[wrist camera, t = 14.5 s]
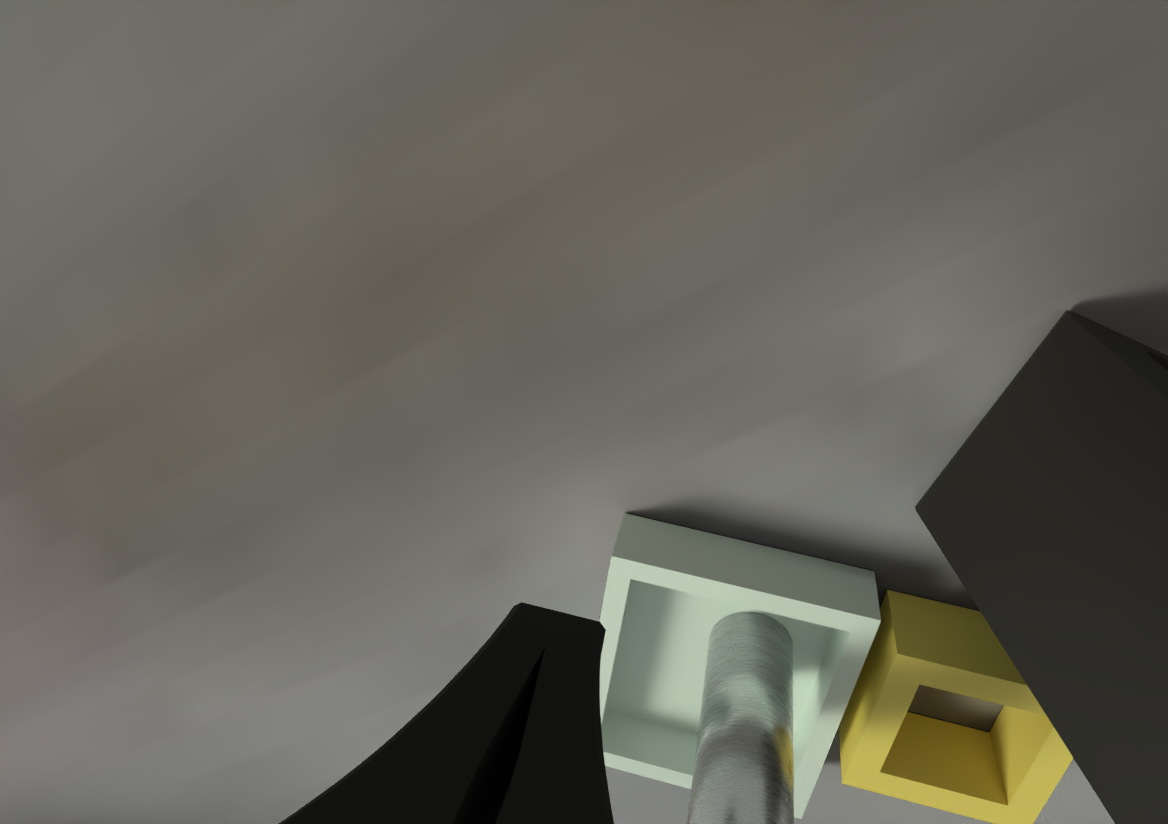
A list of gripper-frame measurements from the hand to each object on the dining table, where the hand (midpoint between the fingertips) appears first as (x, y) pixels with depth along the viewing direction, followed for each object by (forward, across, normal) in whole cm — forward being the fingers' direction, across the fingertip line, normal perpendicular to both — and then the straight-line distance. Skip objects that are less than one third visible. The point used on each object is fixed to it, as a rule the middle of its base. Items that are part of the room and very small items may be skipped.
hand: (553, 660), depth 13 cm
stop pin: (+10, -4, +8) cm, 13 cm away
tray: (+10, -4, +8) cm, 14 cm away
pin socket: (+10, -10, +8) cm, 16 cm away
